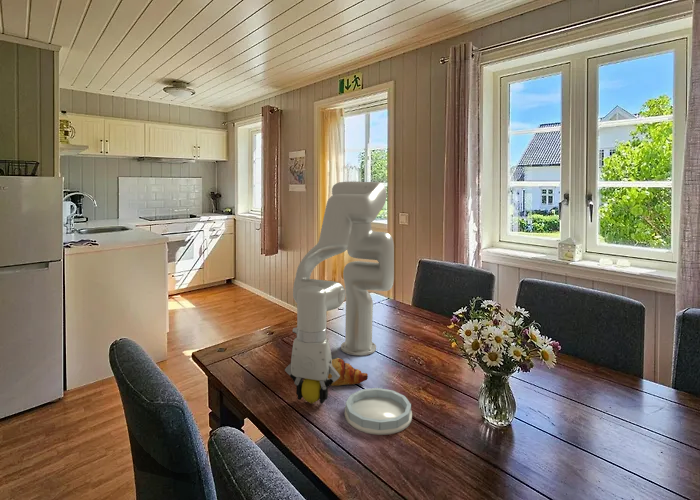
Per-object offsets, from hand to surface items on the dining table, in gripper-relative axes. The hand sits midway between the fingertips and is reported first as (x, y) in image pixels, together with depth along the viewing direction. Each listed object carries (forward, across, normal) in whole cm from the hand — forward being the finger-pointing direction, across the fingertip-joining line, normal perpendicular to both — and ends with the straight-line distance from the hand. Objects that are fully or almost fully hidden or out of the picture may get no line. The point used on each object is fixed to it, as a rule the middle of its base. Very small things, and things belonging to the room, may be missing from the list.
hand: (312, 398), depth 108 cm
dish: (+1, +18, 0) cm, 18 cm away
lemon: (+1, 0, 0) cm, 1 cm away
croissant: (+2, +1, +15) cm, 15 cm away
